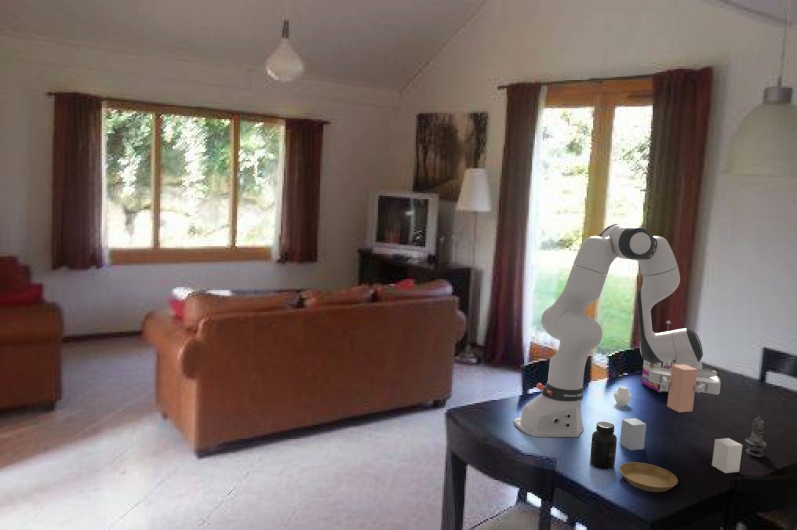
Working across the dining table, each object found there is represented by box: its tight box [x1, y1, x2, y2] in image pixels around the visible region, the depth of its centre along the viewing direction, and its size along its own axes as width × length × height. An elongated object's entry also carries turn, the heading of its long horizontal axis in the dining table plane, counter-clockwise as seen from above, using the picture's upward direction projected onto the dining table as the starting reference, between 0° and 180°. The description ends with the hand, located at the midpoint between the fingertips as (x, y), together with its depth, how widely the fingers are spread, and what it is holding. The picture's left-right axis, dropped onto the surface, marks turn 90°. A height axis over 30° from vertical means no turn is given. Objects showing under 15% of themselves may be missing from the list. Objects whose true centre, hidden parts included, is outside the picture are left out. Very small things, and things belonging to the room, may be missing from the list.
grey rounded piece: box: [613, 386, 632, 407], centre depth 235 cm, size 6×6×7 cm
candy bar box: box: [640, 359, 672, 393], centre depth 257 cm, size 11×5×16 cm, turn 17°
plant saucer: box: [619, 462, 679, 493], centre depth 174 cm, size 15×15×3 cm
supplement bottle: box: [589, 421, 618, 470], centre depth 183 cm, size 7×7×12 cm
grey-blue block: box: [619, 417, 647, 451], centre depth 197 cm, size 5×5×8 cm
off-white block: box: [711, 437, 744, 474], centre depth 185 cm, size 5×5×8 cm
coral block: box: [666, 364, 697, 413], centre depth 192 cm, size 5×5×13 cm
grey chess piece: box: [744, 415, 767, 458], centre depth 197 cm, size 6×6×12 cm
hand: (682, 387), depth 191 cm, fingers closed on coral block, 7 cm apart
